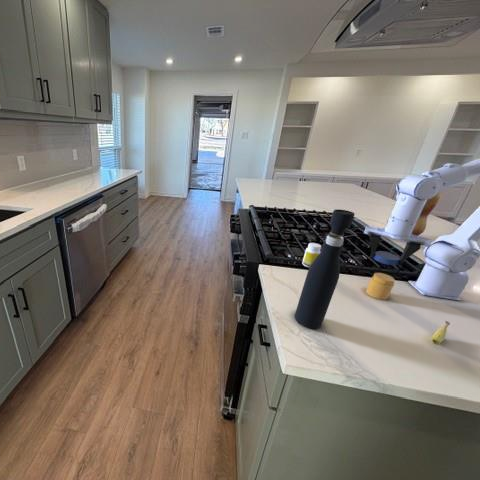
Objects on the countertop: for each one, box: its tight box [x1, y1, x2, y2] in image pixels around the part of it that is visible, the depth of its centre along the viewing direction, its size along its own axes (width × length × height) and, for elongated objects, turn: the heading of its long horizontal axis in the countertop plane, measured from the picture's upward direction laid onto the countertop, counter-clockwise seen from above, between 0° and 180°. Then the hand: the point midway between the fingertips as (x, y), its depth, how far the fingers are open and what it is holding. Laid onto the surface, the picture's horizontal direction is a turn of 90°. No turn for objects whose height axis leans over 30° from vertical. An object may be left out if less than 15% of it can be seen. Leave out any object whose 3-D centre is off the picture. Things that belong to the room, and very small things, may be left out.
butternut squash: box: [386, 191, 441, 236], centre depth 118 cm, size 14×13×25 cm
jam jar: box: [365, 272, 396, 301], centre depth 77 cm, size 5×5×6 cm
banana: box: [430, 320, 451, 345], centre depth 61 cm, size 8×2×4 cm, turn 124°
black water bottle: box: [293, 208, 356, 330], centre depth 61 cm, size 6×6×30 cm
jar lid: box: [372, 250, 401, 266], centre depth 77 cm, size 6×6×2 cm
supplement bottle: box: [301, 242, 322, 269], centre depth 93 cm, size 5×5×8 cm
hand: (384, 260), depth 77 cm, fingers closed on jar lid, 6 cm apart
